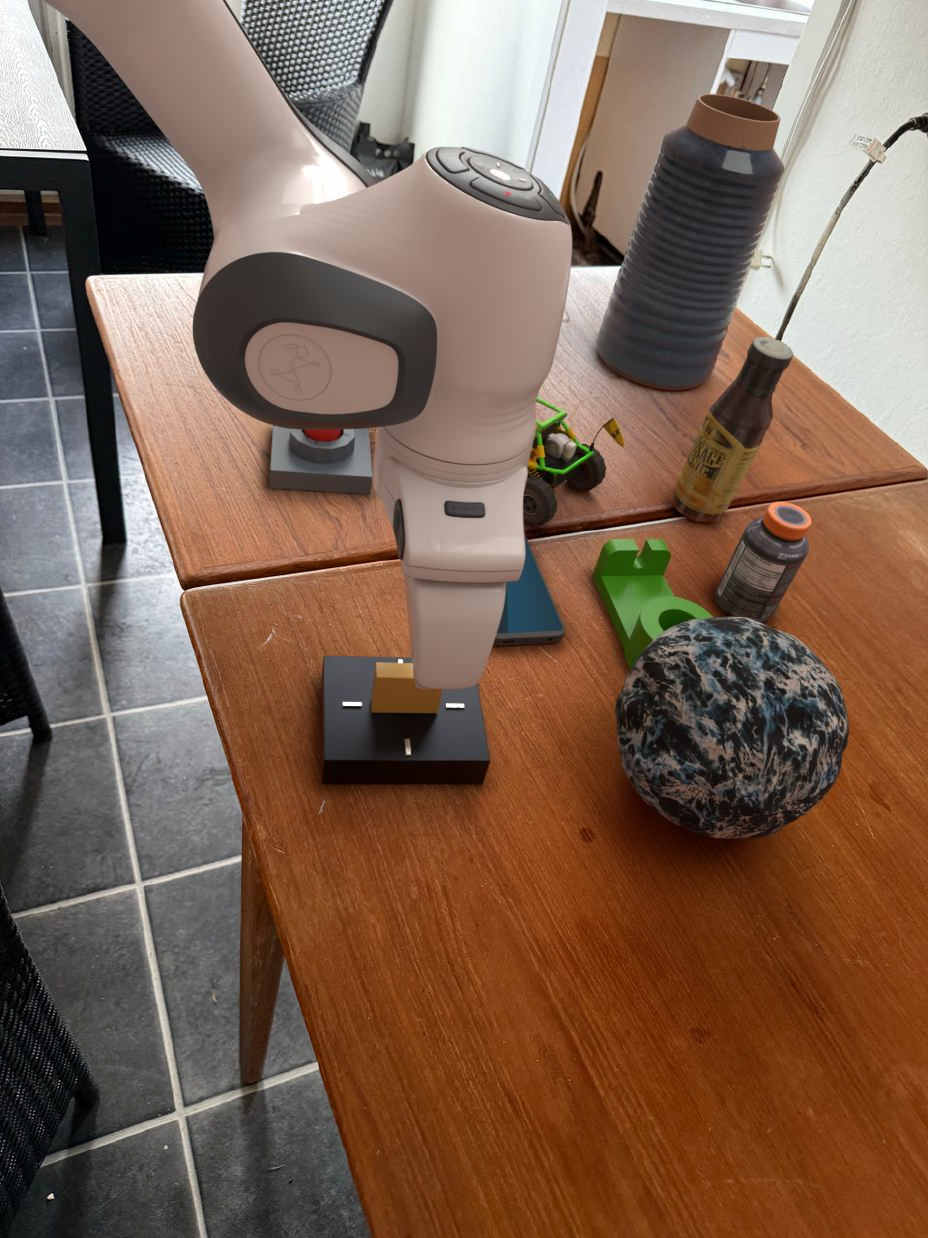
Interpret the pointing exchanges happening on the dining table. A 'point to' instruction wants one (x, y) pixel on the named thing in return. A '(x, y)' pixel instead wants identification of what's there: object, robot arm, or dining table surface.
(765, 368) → the sauce bottle
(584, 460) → the motor vehicle
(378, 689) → the thumb turn
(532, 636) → the smartphone
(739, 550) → the pill bottle
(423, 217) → the robot arm
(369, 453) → the grey button base
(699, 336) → the vase
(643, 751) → the decorative stone
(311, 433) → the bell button
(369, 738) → the plate
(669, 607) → the tape dispenser
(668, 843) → the dining table surface
